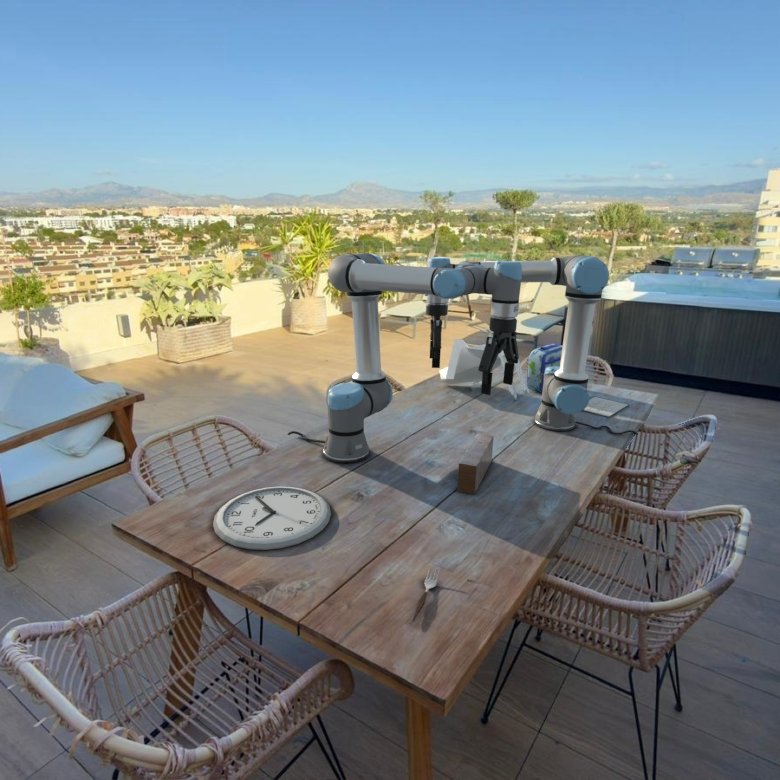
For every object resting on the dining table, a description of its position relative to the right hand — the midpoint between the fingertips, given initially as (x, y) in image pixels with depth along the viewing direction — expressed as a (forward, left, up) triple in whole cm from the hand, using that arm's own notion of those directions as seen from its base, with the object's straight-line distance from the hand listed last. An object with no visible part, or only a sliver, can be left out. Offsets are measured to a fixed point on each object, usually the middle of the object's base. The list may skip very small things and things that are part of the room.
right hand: (434, 362), depth 187 cm
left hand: (-20, +32, +1) cm, 38 cm away
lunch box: (-53, -65, -27) cm, 88 cm away
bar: (-15, +34, -27) cm, 46 cm away
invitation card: (-72, -41, -27) cm, 87 cm away
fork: (-3, +92, -27) cm, 96 cm away
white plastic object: (-20, -53, -27) cm, 62 cm away
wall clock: (+38, +66, -27) cm, 81 cm away
